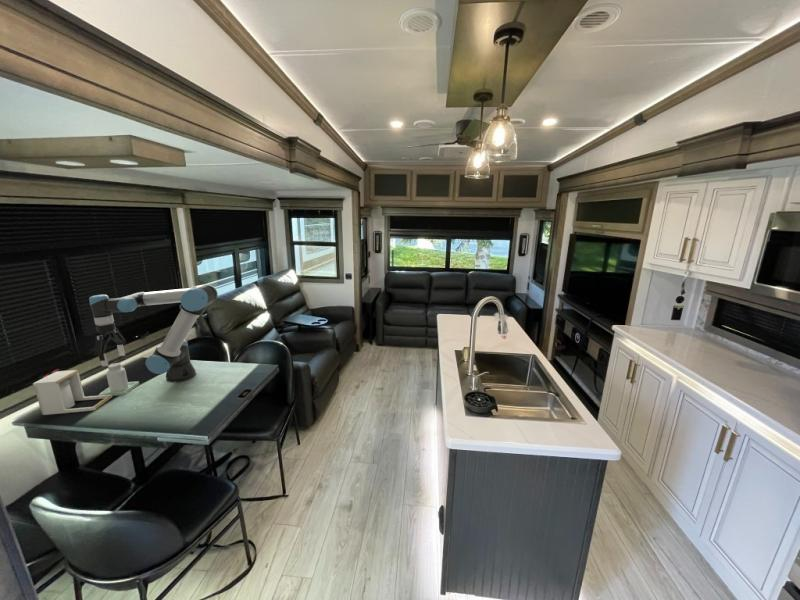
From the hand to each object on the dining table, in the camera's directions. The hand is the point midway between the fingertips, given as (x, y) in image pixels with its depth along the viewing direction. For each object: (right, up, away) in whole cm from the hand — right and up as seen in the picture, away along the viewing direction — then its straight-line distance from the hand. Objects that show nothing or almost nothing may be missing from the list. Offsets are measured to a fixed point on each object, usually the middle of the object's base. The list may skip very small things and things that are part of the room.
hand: (114, 360), depth 174 cm
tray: (0, -17, +4) cm, 18 cm away
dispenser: (-8, -21, -11) cm, 25 cm away
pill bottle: (0, -17, +4) cm, 18 cm away
